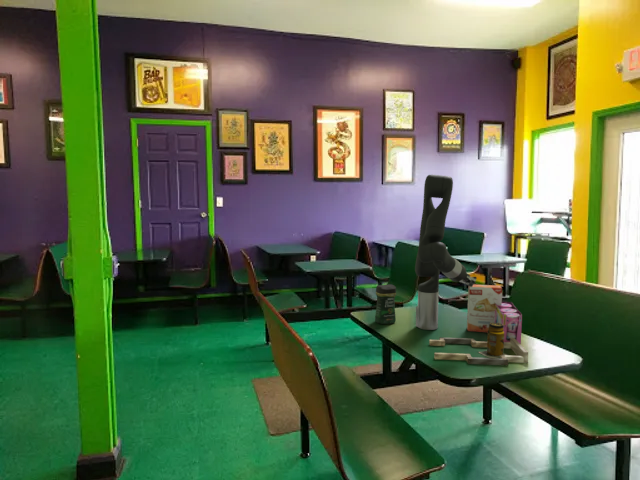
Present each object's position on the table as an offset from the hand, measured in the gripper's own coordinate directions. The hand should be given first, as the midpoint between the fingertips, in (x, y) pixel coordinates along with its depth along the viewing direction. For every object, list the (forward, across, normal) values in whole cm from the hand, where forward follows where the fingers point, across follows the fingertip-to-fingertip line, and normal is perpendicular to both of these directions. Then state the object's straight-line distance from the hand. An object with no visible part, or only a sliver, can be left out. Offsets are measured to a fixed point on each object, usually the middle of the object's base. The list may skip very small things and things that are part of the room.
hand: (471, 284), depth 188 cm
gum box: (+24, -11, +14) cm, 30 cm away
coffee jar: (+8, +39, +28) cm, 49 cm away
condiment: (+4, -17, +24) cm, 30 cm away
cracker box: (+27, +1, +13) cm, 30 cm away
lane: (+1, -12, +26) cm, 29 cm away
